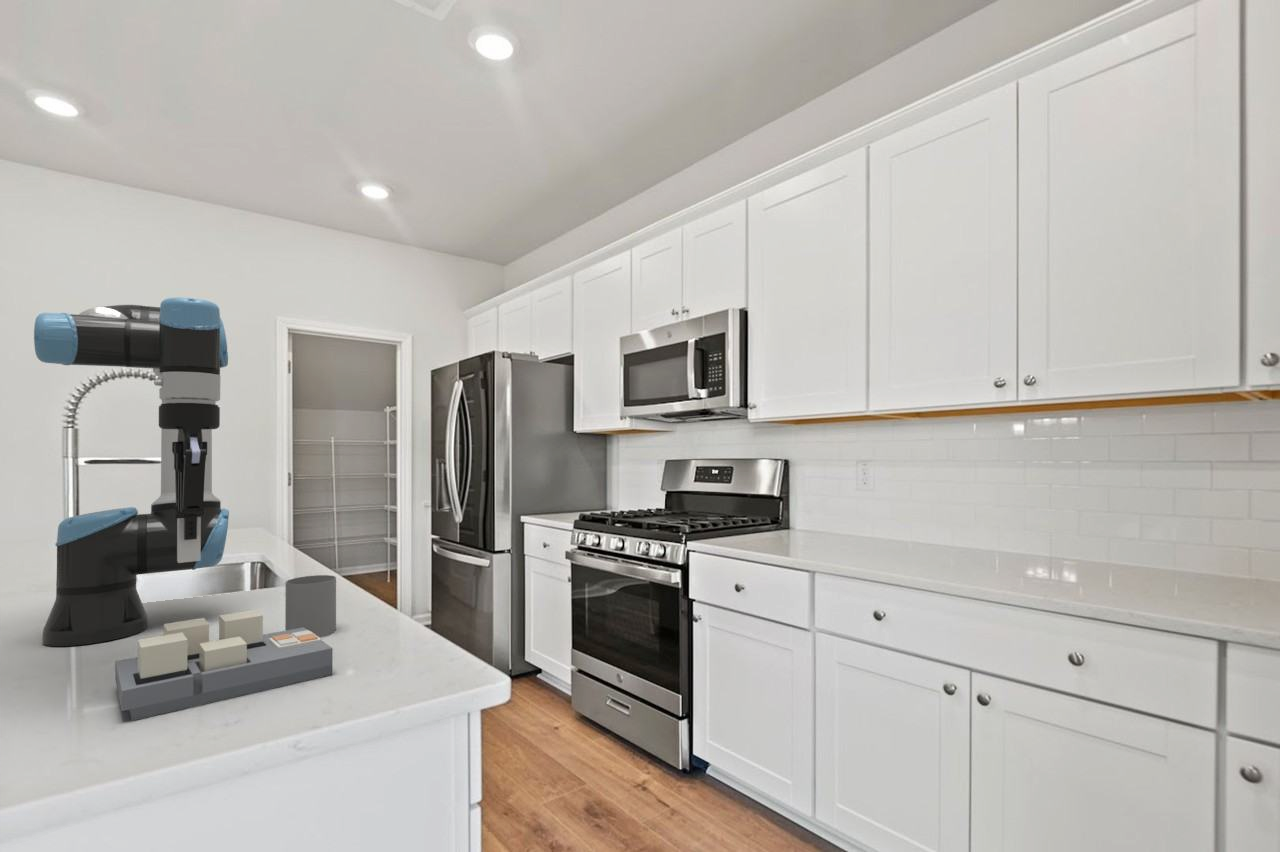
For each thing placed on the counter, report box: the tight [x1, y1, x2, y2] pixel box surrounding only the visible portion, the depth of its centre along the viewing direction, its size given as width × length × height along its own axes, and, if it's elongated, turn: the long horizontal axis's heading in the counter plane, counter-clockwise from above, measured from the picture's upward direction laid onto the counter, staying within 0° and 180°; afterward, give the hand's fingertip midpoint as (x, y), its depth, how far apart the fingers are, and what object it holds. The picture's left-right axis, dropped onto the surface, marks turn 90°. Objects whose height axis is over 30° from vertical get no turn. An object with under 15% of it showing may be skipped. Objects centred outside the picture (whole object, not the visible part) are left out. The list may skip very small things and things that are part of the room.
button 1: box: [137, 632, 187, 679], centre depth 88 cm, size 5×5×4 cm
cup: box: [284, 574, 337, 638], centre depth 121 cm, size 8×8×10 cm
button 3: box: [199, 637, 247, 672], centre depth 93 cm, size 5×5×4 cm
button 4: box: [218, 609, 264, 644], centre depth 101 cm, size 5×5×4 cm
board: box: [114, 627, 333, 722], centre depth 96 cm, size 16×25×5 cm, turn 131°
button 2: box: [163, 617, 210, 655], centre depth 96 cm, size 5×5×4 cm
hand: (188, 561), depth 97 cm, fingers closed
